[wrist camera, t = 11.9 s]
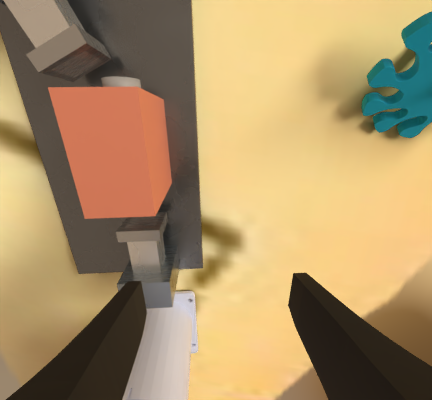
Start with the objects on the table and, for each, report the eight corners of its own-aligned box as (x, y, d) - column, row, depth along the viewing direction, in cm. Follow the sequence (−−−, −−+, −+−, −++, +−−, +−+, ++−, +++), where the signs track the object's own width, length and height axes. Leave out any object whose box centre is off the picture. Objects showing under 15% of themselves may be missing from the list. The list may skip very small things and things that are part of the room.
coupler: (172, 192, 17) (157, 229, 11) (127, 194, 16) (88, 232, 11) (162, 86, 14) (134, 64, 8) (107, 86, 14) (41, 64, 8)
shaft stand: (202, 261, 20) (202, 308, 15) (84, 266, 20) (43, 317, 15) (187, -97, 11) (174, -271, 6) (-29, -105, 11) (-234, -303, 6)
